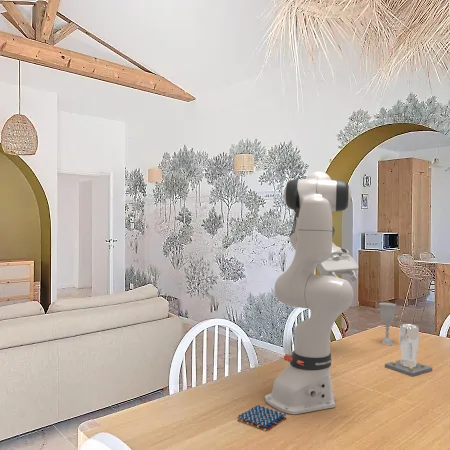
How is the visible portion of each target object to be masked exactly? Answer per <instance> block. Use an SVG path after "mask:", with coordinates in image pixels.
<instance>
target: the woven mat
mask: <svg viewBox="0 0 450 450" xmlns="http://www.w3.org/2000/svg"><path fill="white" fill-rule="evenodd" d="M286 416H287V413H284V412H282V411H279V412H278V410H274V409H272V408H269V407H265V406H263V405H259V404H258V405H255V406H254V407H251V408H249V409H248V410H246V411H244V412H241V414H238V416H237V419H238V420H237V422H241V423H243V424H244V425H245V424H246V425H250V426H252V427H254V428H256V429H259V430H260V431H261V430H263V431H264V432H267V431H268V430H271V429H272V428H273V427H275V426H277V425H279V423H281V422H283V421H284V420H286V419H287V417H286Z"/></svg>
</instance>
